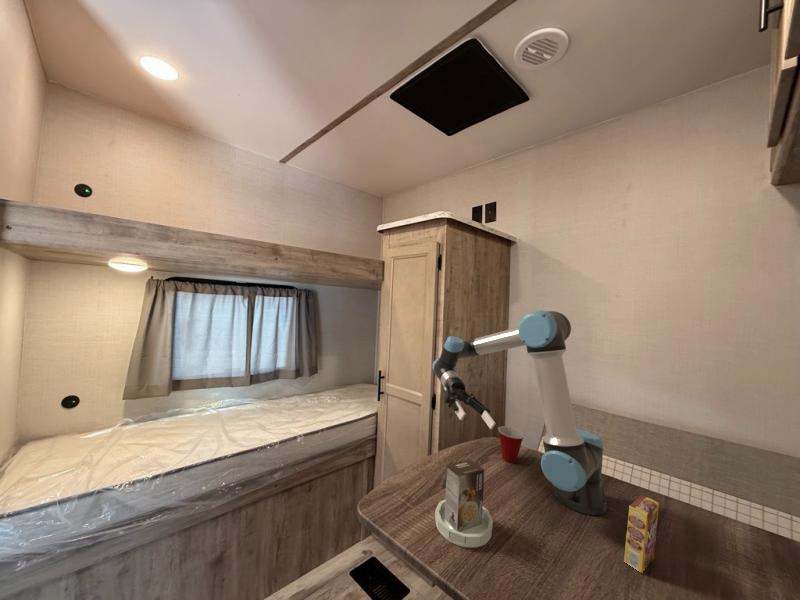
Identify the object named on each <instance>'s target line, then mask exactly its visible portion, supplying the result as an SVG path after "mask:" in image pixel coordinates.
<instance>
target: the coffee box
mask: <svg viewBox="0 0 800 600" xmlns="http://www.w3.org/2000/svg"><path fill="white" fill-rule="evenodd" d="M484 480H485V468H483V467H482V466H480V465H479V464H477V463H476V462H474V461H473V460H472V459H465V460H462V461H458V462H453V463H450V464H446V477H445V498H444V499H445V517H444V518H445V520H446V521H447V522H448V523H449V524H450V525H451V527H452V528H453V529H454V530H456V531H459V532H461V531H464V530H466V529H469V528H472V527H475V526H477V525H480V524H482V507H484V505H483V503H484V484H485V483H484V482H485V481H484Z"/></svg>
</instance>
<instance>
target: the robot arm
mask: <svg viewBox="0 0 800 600" xmlns="http://www.w3.org/2000/svg"><path fill="white" fill-rule="evenodd" d="M571 332H572V325H571V321H570V320H569V318H567V316H565V315H564V314H563V313H561V312H558V311H550V310H549V311H548V310H536V311H531V312H528V313H527V314H525V315H524V316H523V317H522V318H521V319H520V321H519V324H518V327H517V326H516V327H513V328H509V329H506V330H502V331H499V332H496V333H495V332H494V333H491V334H487V335H484V336H483V335H482V336H480V337H476V338H472V339H469V340H468V339H467V340H463V339H462V338H461V337H457V336H453V335H450V336H448V337H447V339H446V341H445V342H444V345H443V348H442V351H441V353H440V356H439V357H438V358H436V359H435V360H434V361H433V362H432V364H431V367H432V370H433V372H434V375H435V376H436V377H437V379H438V380H439V382H440V383H441V386H443V390H442V391H443V393H444V394H443V395H444V399H443V401H444V403H445V404H448V405H447V407H448V408H449V409H451V408H452V409H453V411H454V412H455V414H456V416H457V418H458V420H460V421H463V419H464V418H465V416H466V415H467V413H466V412H465V410H464V409H463V407H462V406H461V404H460V403H459V401H460V402H463V403H464V405H466V406H470V407H471V408H472V409H473V410H474V411H476V413H477V412H478V413H479V414H480V415H481V416H480V417H481V418H482V420H483V421H484V423H486V425H487V427H488V428H489V430H493V428H495V426H496V422H495V420H494V419H493V418H492V416H491V415H490V413H491V410H490V409H489V408H488V407H487V406H486V405H485V404H483V403H482V402H481V401H480V400H479V399H478V398H477V397H476V396H475V395H474V394H473V393H470V394H469V393H468V391H466V384H465V383H464V382H463V380H462V378H460V376H459V374H457V372H456V371H455V369H456V366H457V365H458V361H459V360H462V359H469V358H476V357H479V356H482V355H486V354H492V353H497V352H501V351H506V350H510V349H514V348H520V347H523V346H526V351H527V354H528V355H529V356H530V357H532V358H533V363H534V369H535V375H536V380H537V385H538V386H537V387H538V390H539V391H538V392H539V398H540V402H541V408H542V412H543V421H544V424H545V425H544V426H545V430H546V433H545V435H544V436H543V437H542V442H543V449H544V453H543V455H542V456H541V460H540V467H541V470H542V473H543V475H544V476H545V478H546V479H547V481H549V482H550V483H551V485H553V486H554V489H553V490H554V496H555V497H556V498H557V500H558V501H559V502H560V503H562V505H564V506H565V507H568V508H569V509H571V510H573V511H576V512H577V513H580V514H584V515H588V516H601V515H604V514H605V513H606V511H607V500H606V496H605V492H604V489H603V486H602V473H603V472H602V471H603V458H604V457H603V456H604V455H603V454H604V450H605V447H604V441H603V439H602V437H600V436H599V435H597V434H594V433H593V432H590V431H587V430H583V429H580V428H577V427H576V421H575V420H576V419H575V416H574V410H573V405H572V399H571V394H570V390H569V385H568V380H567V379H568V378H567V373H566V369H565V364H564V359H563V356H564V354H565V353H566V351H567V348H566V347H567V346H566V342H565V341H566V340H567V339H568V338H569V337H570V335H571Z"/></svg>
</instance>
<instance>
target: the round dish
mask: <svg viewBox="0 0 800 600" xmlns="http://www.w3.org/2000/svg"><path fill="white" fill-rule="evenodd" d="M444 517H445V498H444V499H443V500H441V501H439V502H438V504H437V506H436V508H435V512H434V519H435V527H436V528H437V531H438V532H439V533H440V535H441V536H442V537H443V538H444V539H445V540H447V541H448V542H450V543H452V544H454V545H456V546H458V547H461V548H466V549H468V548H469V549H475V548H480V547H484V546H485V545H487V544H488V543H489V541H490V540H491V538H492V535H493V528H494V527H493V526H494V525H493V524H494V519H493V517H492V515H491V513H490V512H489V510H488V509H487V508H486V507H485V506H483V507H482V524H480V525H477V526H475V527H472V528H469V529H466V530H464V531H461V532H459V531H456V530H454V529H453V528H452V527H451V525H450V524H449V523H448V522H447V521H446V520H445V518H444Z"/></svg>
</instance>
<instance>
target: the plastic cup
mask: <svg viewBox="0 0 800 600" xmlns="http://www.w3.org/2000/svg"><path fill="white" fill-rule="evenodd" d="M497 429H498V434H499V443H500V444H499V445H500V451H501V459H502V460H503V461H505V462H506V463H510V464H511V463H512V464H513V463H516V462H517V460H518V456H519V453H520V449H521V446H522V442H523V440H524V438H525V436H526V435H525V433H524V432H522V431H521V430H520V429H517V428H514V427H512V426H507V425H506V426H505V425H502V426H499V427H498V428H497Z"/></svg>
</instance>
